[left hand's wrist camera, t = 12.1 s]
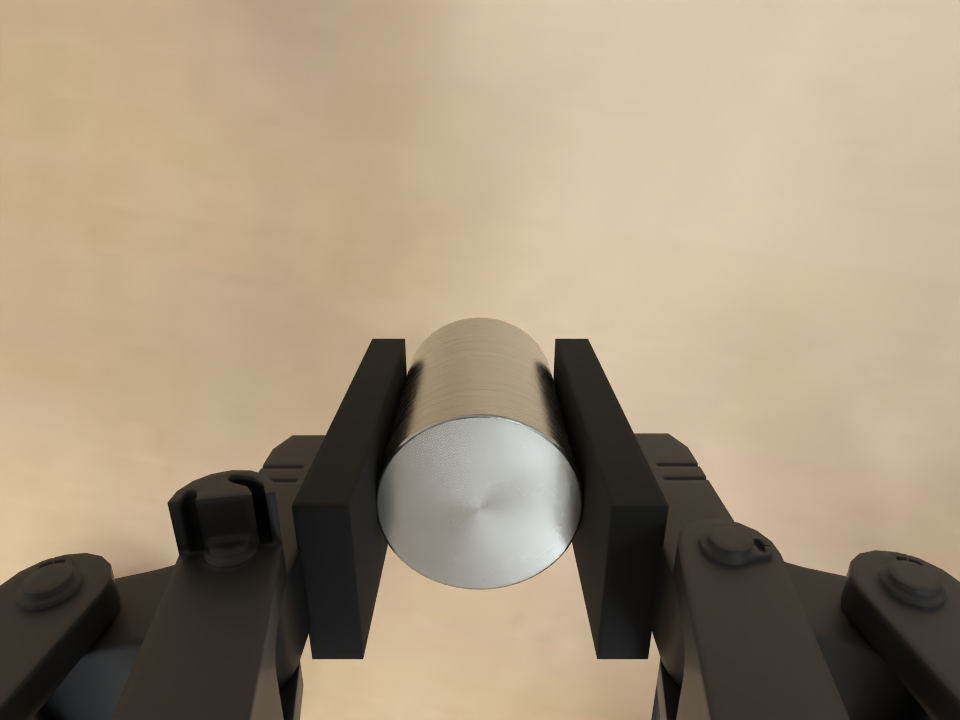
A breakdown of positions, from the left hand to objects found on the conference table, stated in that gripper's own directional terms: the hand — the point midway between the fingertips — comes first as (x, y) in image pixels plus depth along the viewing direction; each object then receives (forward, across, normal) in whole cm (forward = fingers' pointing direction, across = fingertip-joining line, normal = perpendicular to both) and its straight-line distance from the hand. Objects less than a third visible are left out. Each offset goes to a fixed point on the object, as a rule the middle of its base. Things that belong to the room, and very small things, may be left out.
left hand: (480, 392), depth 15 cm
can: (0, 0, 0) cm, 0 cm away
